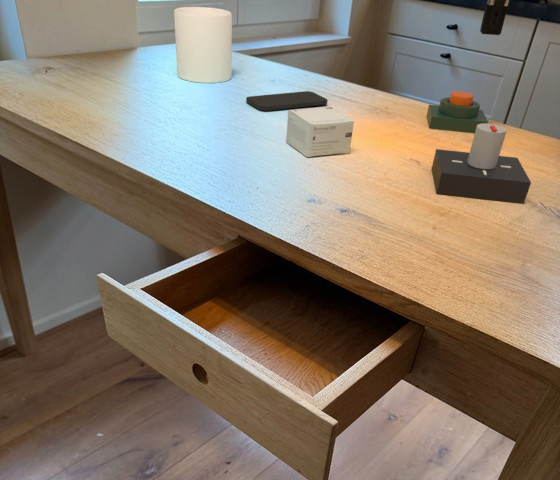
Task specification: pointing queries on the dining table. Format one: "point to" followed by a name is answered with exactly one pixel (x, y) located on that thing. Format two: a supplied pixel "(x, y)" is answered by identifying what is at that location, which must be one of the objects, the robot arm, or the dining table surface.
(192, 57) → the cup
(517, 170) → the control panel
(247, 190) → the dining table surface
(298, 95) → the phone
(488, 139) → the knob
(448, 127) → the button block
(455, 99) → the button
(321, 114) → the small box
